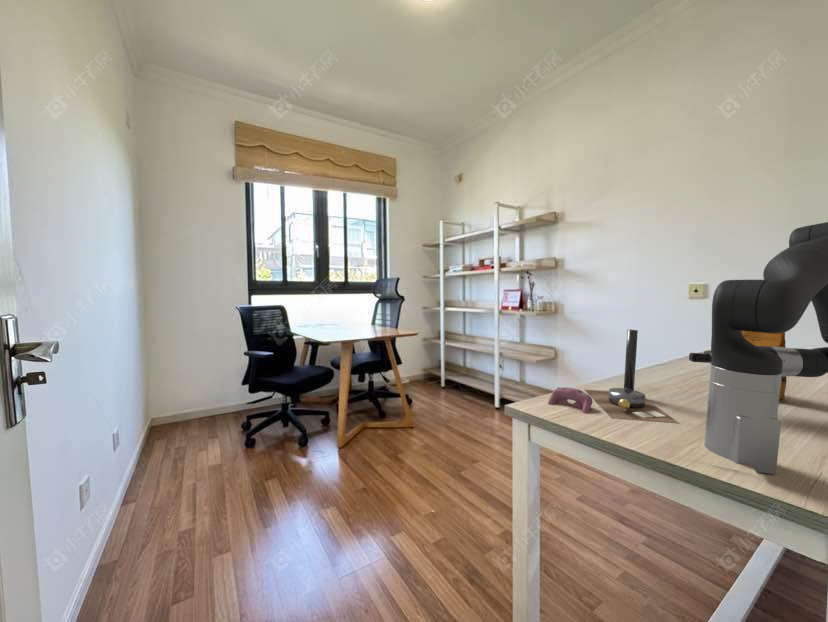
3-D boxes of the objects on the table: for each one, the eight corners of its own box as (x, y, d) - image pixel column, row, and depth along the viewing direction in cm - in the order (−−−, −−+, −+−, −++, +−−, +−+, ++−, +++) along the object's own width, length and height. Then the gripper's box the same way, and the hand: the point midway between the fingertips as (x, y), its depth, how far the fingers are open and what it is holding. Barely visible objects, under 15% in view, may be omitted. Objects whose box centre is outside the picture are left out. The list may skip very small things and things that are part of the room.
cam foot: (643, 417, 79) (648, 340, 77) (604, 409, 83) (608, 336, 82) (645, 395, 94) (650, 331, 92) (612, 390, 98) (616, 328, 97)
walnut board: (679, 429, 76) (680, 422, 76) (611, 424, 79) (611, 417, 79) (636, 397, 97) (636, 391, 97) (583, 394, 100) (583, 388, 100)
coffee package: (773, 403, 94) (781, 323, 92) (719, 390, 105) (725, 319, 103) (791, 399, 98) (800, 322, 96) (737, 386, 109) (743, 318, 107)
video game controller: (590, 422, 84) (595, 394, 86) (586, 418, 81) (591, 389, 83) (550, 411, 91) (555, 385, 93) (544, 408, 88) (550, 381, 89)
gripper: (751, 342, 93) (678, 339, 97) (792, 351, 80) (706, 347, 84) (749, 369, 94) (676, 365, 98) (789, 382, 81) (704, 377, 85)
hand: (690, 357), depth 91 cm, fingers closed
